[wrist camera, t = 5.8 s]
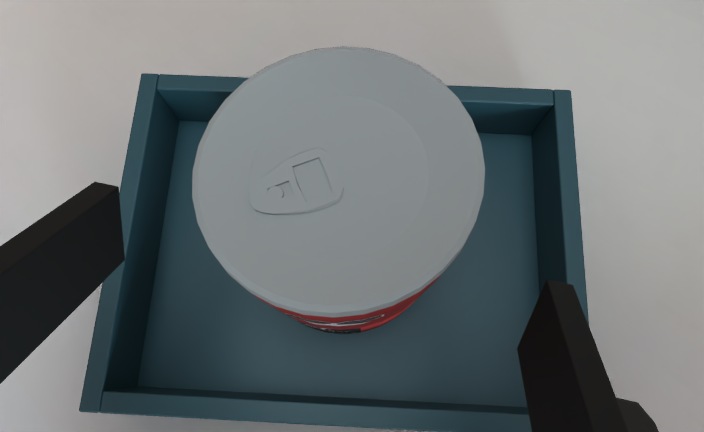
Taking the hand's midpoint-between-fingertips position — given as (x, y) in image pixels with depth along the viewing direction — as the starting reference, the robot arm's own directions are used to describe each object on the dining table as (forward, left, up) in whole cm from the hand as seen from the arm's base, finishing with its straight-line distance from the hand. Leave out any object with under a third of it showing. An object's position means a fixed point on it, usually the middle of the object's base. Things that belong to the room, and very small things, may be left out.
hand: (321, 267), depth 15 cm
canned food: (-1, -2, -8) cm, 9 cm away
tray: (-1, -2, -9) cm, 9 cm away
